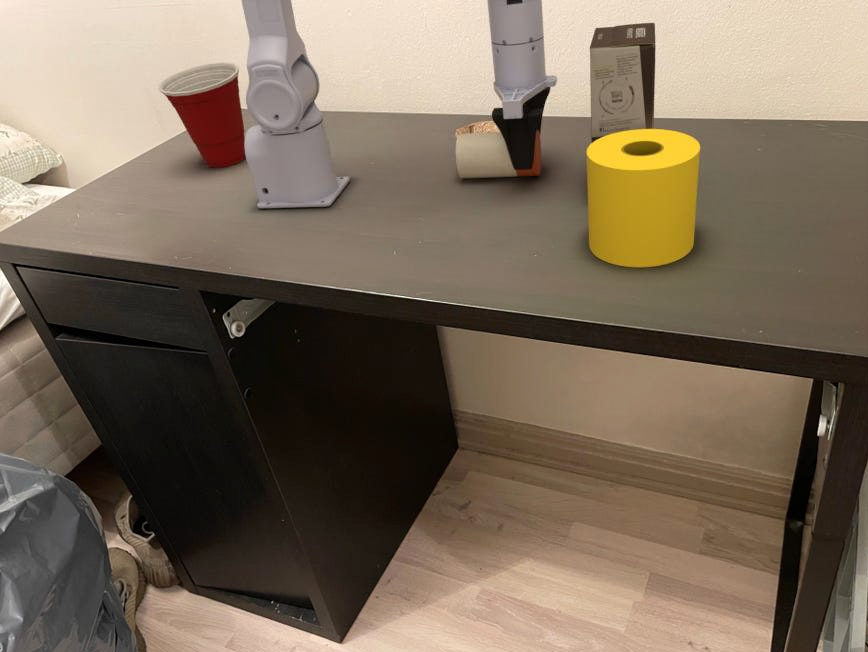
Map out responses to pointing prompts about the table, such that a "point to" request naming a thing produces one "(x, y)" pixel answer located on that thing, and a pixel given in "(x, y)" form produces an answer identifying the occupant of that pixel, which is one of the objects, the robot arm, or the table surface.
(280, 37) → the robot arm
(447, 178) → the table surface
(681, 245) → the yellow paper roll
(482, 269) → the table surface
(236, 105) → the plastic cup
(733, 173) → the table surface
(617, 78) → the coffee box
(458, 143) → the container
